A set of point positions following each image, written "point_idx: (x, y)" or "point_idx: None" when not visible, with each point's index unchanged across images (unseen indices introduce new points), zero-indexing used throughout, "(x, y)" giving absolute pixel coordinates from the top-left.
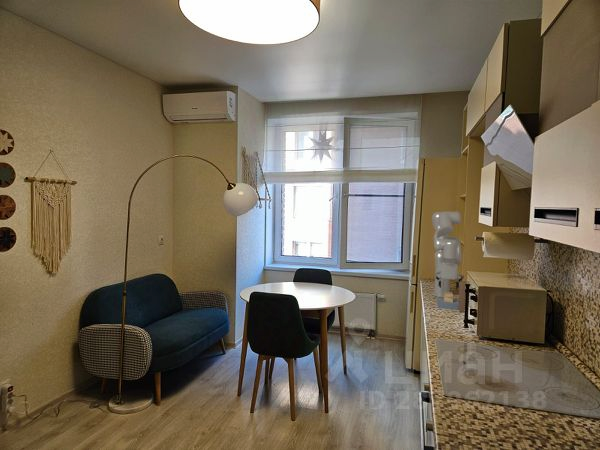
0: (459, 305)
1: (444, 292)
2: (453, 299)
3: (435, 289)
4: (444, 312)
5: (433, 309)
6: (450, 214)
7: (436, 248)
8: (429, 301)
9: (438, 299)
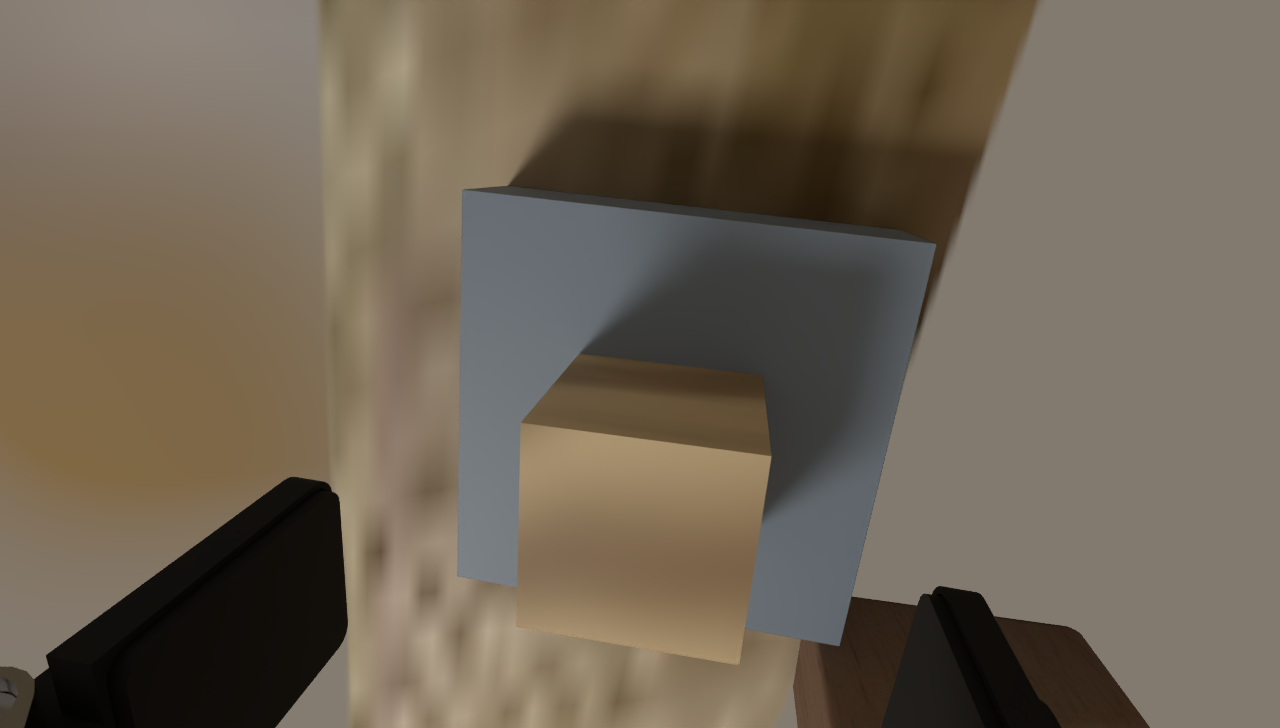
0: None
1: (535, 490)
2: (827, 279)
3: None
4: (562, 714)
5: (424, 602)
6: None
7: None
8: (370, 95)
9: (478, 353)
